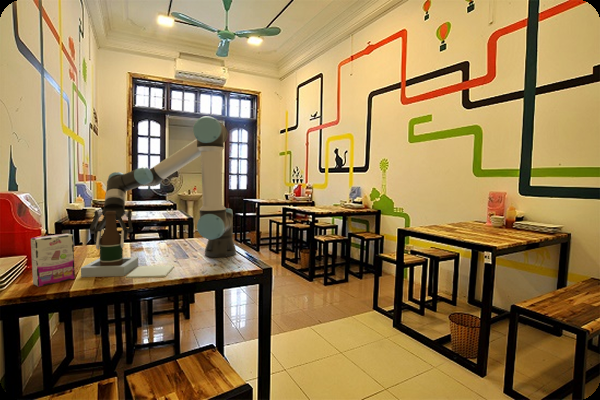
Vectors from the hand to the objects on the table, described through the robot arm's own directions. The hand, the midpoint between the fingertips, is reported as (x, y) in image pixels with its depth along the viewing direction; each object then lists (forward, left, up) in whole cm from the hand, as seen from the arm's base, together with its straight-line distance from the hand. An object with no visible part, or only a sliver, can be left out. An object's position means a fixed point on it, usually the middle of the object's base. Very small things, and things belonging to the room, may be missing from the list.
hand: (109, 246), depth 121 cm
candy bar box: (+15, +9, -11) cm, 20 cm away
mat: (-15, 0, -11) cm, 18 cm away
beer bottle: (+1, -3, -11) cm, 11 cm away
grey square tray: (+1, -3, -11) cm, 11 cm away
